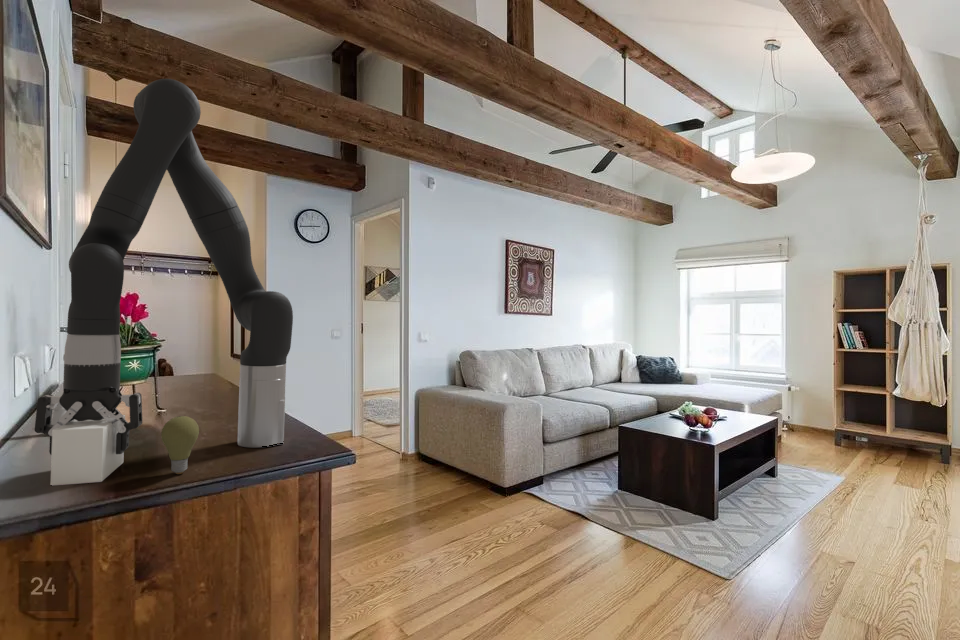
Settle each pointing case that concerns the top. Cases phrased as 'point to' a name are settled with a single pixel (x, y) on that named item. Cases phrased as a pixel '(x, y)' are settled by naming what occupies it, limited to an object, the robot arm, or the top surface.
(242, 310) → the robot arm
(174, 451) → the light bulb
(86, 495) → the top surface
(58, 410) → the rook chess piece
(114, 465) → the light gray block
